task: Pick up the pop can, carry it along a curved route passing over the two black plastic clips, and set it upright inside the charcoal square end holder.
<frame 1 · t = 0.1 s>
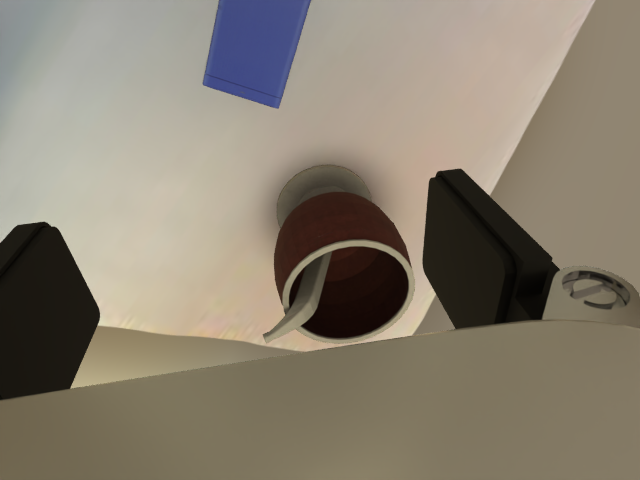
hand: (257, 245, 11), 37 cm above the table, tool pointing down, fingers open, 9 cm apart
hard drive: (256, 33, 42), on the table
mate gourd: (318, 210, 54), on the table
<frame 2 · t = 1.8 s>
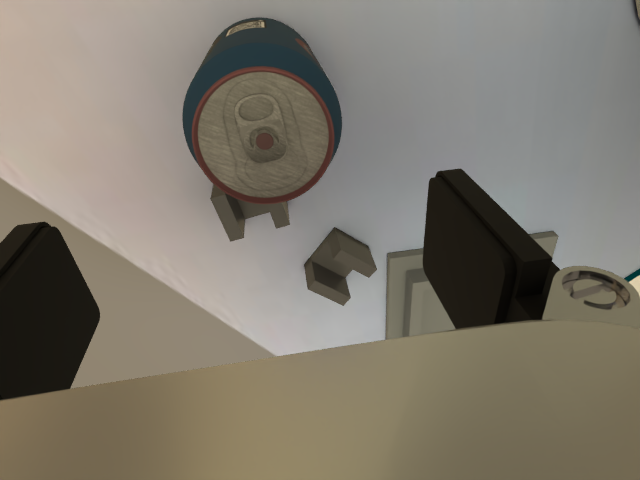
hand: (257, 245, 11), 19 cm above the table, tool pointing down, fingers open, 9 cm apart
clip 2: (336, 255, 35), on the table
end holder: (461, 305, 40), on the table
soda can: (262, 75, 27), on the table
clip 1: (252, 190, 31), on the table
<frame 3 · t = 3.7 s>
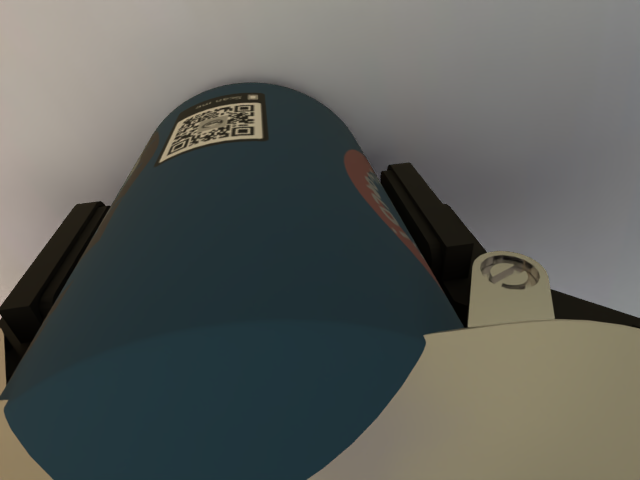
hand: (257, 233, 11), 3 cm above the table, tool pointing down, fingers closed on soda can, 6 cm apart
soda can: (257, 177, 14), on the table, touching gripper
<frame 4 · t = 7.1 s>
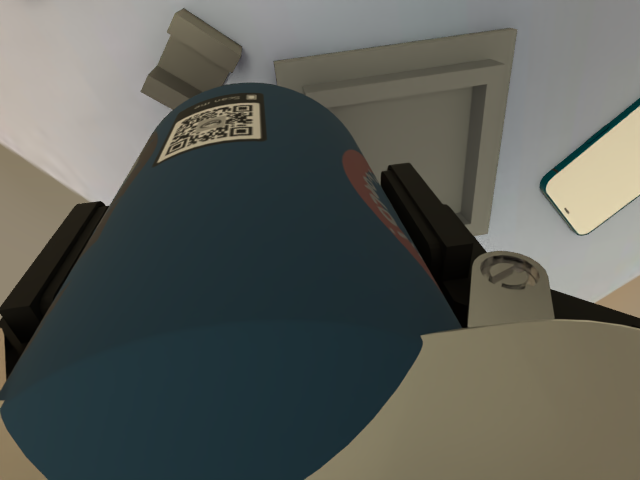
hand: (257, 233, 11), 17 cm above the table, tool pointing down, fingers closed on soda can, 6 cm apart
clip 2: (196, 62, 25), on the table
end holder: (394, 157, 30), on the table
soda can: (257, 178, 14), point 14 cm above the table, touching gripper
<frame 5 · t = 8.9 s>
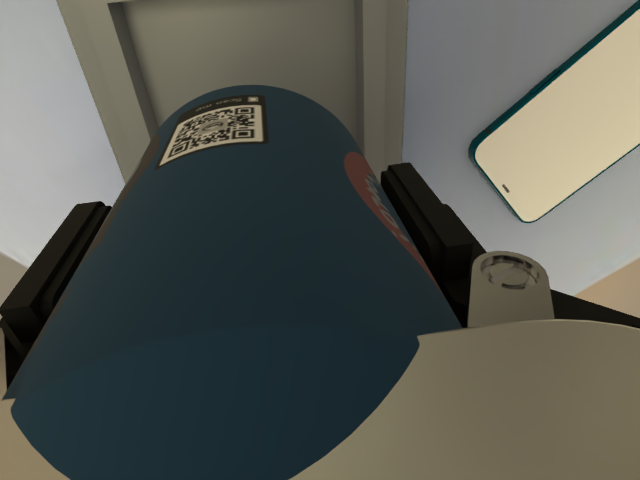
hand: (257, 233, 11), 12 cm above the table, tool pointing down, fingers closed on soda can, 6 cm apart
smartphone: (605, 94, 24), on the table
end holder: (257, 101, 21), on the table
soda can: (258, 179, 14), point 9 cm above the table, touching gripper
when the fingers open (5 cm above the table, at t = 10.6 s): soda can drops 1 cm, resting on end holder.
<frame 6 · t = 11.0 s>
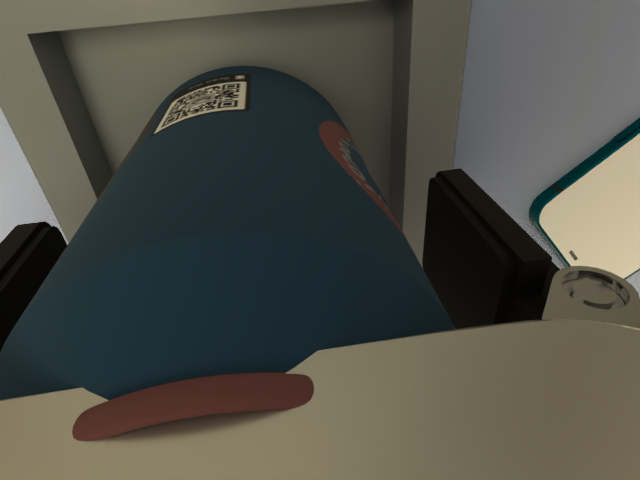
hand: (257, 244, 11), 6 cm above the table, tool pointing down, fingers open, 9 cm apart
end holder: (256, 156, 16), on the table
soda can: (252, 158, 15), point 1 cm above the table, touching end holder
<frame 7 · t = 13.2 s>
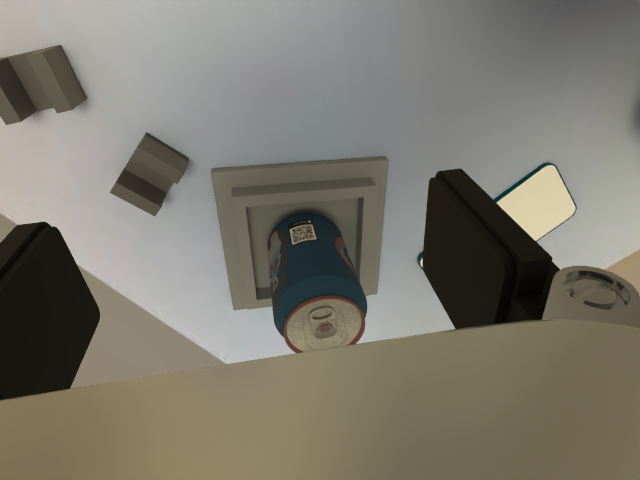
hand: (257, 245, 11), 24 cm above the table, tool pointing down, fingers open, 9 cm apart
smartphone: (492, 231, 44), on the table
clip 2: (154, 166, 34), on the table
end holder: (303, 236, 39), on the table
soda can: (303, 238, 39), point 1 cm above the table, touching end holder
clip 1: (43, 79, 29), on the table
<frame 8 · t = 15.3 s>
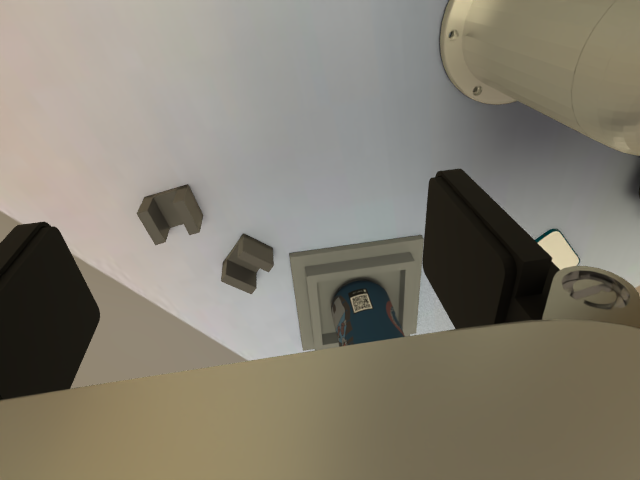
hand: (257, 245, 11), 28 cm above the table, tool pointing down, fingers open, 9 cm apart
smartphone: (509, 280, 53), on the table
clip 2: (247, 255, 45), on the table
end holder: (357, 294, 50), on the table
soda can: (357, 296, 50), point 1 cm above the table, touching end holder
clip 1: (174, 206, 41), on the table
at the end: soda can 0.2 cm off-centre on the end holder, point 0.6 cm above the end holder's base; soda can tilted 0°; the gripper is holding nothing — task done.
